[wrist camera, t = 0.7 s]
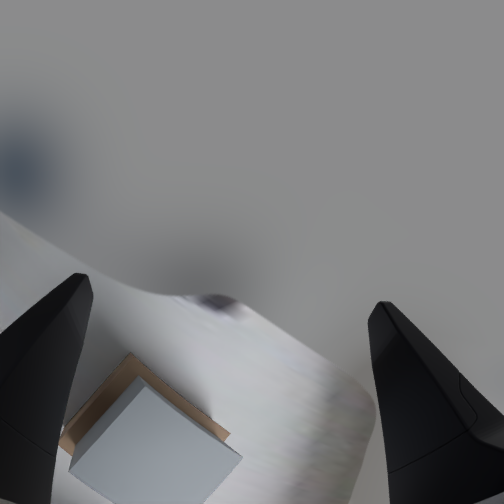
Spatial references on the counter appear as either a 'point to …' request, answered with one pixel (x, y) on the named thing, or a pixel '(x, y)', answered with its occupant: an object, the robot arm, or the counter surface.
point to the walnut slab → (111, 393)
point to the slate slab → (151, 452)
